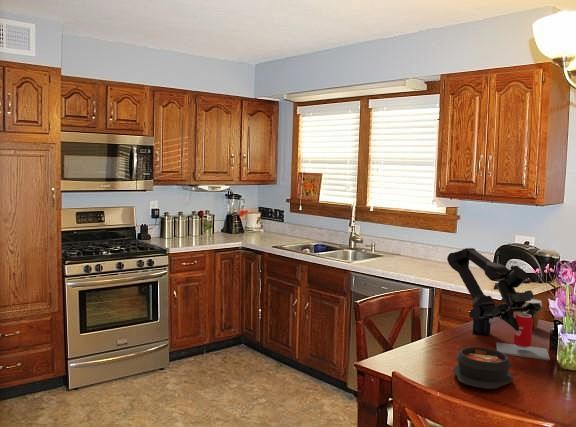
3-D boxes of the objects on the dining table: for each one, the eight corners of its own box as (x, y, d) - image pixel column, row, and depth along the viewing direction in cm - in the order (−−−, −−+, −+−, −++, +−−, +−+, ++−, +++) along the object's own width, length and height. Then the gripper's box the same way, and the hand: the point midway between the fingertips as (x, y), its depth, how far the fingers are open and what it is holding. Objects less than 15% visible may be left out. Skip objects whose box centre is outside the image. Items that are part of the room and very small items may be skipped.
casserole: (460, 362, 192) (461, 339, 191) (516, 372, 183) (518, 348, 182) (444, 386, 170) (446, 360, 169) (508, 399, 161) (510, 372, 160)
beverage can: (515, 341, 209) (518, 311, 208) (532, 345, 205) (535, 314, 204) (510, 345, 204) (513, 314, 203) (528, 349, 200) (530, 318, 199)
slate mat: (496, 353, 202) (497, 351, 202) (496, 343, 213) (496, 342, 213) (549, 360, 196) (550, 358, 196) (546, 350, 207) (546, 348, 207)
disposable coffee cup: (540, 326, 240) (542, 299, 239) (540, 331, 231) (542, 304, 230) (517, 322, 244) (519, 296, 243) (516, 328, 235) (518, 301, 234)
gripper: (498, 283, 204) (515, 320, 194) (540, 282, 208) (558, 318, 199) (484, 298, 212) (500, 335, 202) (524, 297, 217) (542, 332, 207)
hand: (525, 329), depth 203 cm, fingers closed on beverage can, 6 cm apart
